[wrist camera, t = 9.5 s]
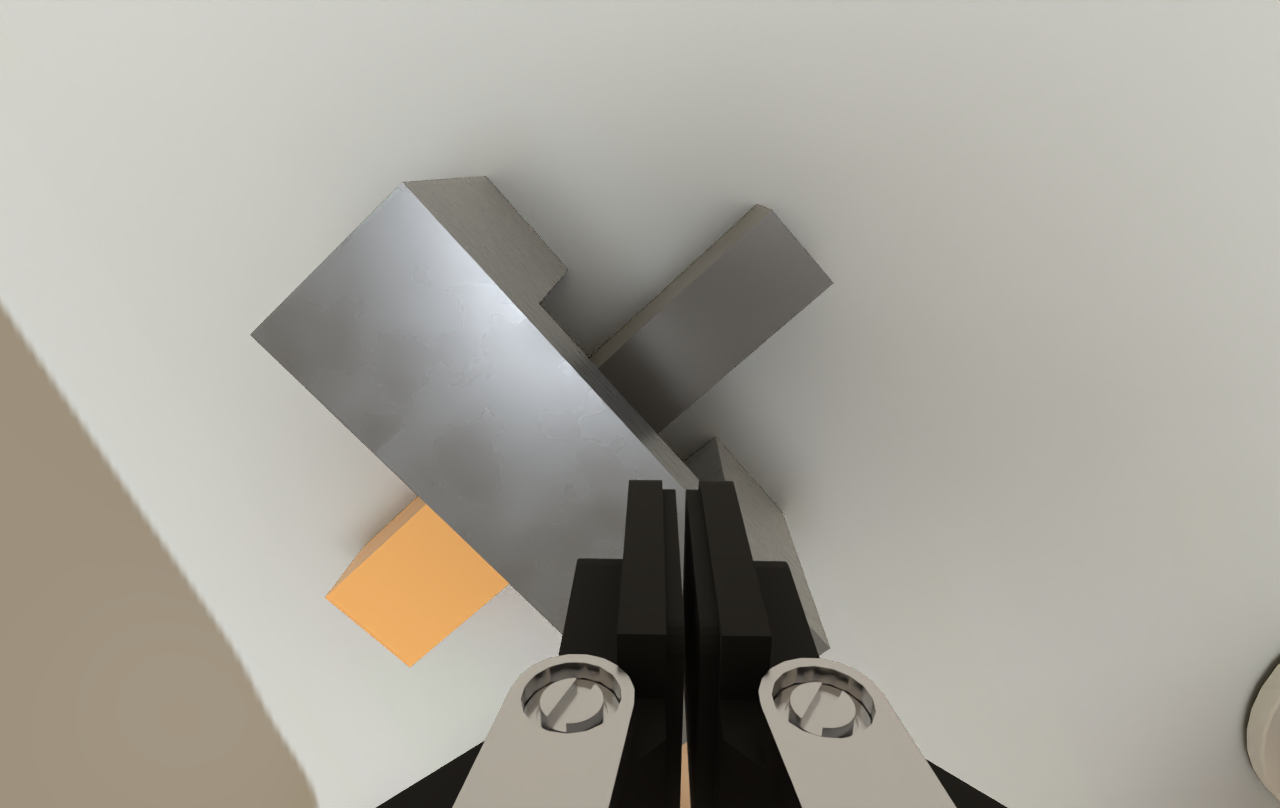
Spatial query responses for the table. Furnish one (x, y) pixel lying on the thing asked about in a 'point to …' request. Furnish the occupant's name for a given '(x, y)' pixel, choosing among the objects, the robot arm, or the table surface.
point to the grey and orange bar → (644, 375)
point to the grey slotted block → (491, 392)
